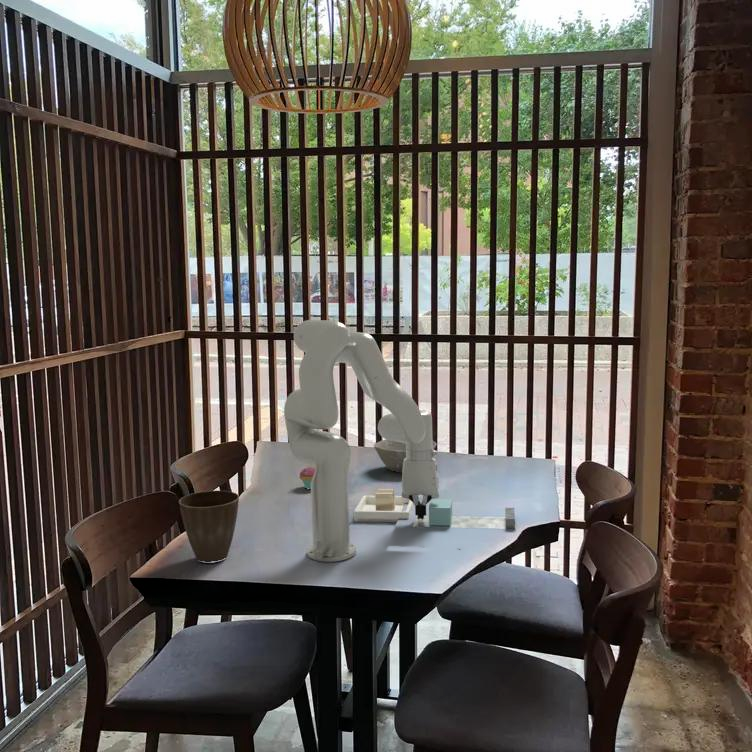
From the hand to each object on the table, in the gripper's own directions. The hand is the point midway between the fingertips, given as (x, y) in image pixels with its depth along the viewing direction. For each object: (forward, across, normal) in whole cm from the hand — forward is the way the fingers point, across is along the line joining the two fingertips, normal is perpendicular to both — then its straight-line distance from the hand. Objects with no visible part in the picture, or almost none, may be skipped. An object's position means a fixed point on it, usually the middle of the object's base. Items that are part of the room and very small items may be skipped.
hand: (420, 517), depth 213 cm
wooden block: (+1, +12, -10) cm, 15 cm away
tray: (+2, +12, -10) cm, 16 cm away
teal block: (+1, -6, 0) cm, 6 cm away
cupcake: (+2, +40, -36) cm, 54 cm away
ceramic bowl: (+3, +11, -61) cm, 62 cm away
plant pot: (+2, +51, +30) cm, 59 cm away
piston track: (+2, -12, 0) cm, 12 cm away
